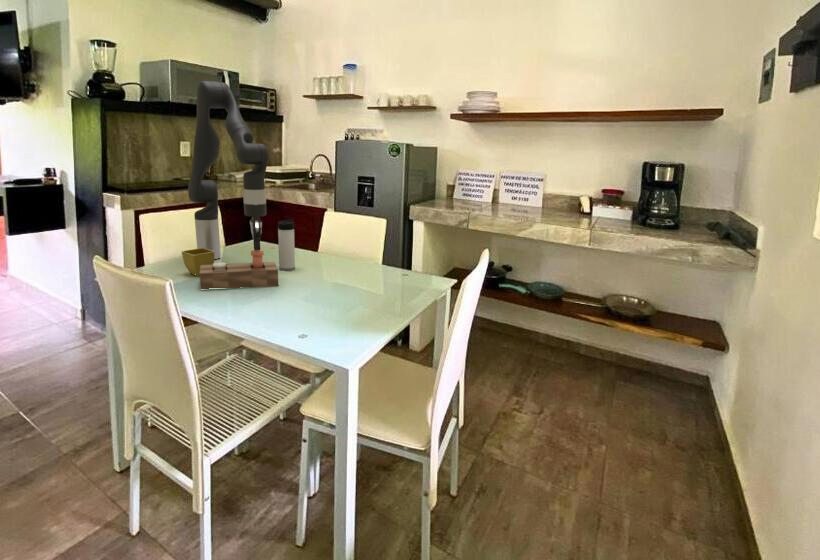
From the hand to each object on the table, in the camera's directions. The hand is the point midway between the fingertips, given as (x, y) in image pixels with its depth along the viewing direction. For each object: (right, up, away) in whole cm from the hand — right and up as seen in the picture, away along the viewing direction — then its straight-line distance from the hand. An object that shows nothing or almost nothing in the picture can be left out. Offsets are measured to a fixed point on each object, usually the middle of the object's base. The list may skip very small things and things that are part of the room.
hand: (257, 249), depth 175 cm
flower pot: (-25, -9, +11) cm, 29 cm away
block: (-7, -12, +1) cm, 14 cm away
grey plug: (-13, -12, -1) cm, 17 cm away
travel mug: (+5, -7, +23) cm, 24 cm away
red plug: (0, -7, +2) cm, 8 cm away
